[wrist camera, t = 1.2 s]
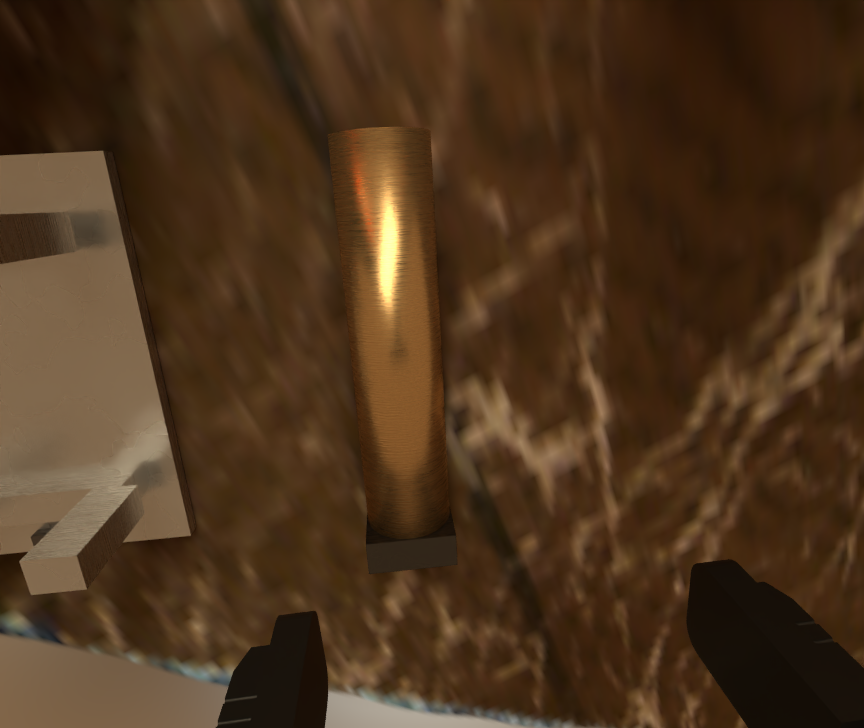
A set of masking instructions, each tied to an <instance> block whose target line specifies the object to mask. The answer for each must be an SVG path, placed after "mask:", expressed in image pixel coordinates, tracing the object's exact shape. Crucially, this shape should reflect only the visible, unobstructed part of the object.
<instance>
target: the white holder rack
mask: <svg viewBox="0 0 864 728" xmlns="http://www.w3.org/2000/svg"><path fill="white" fill-rule="evenodd" d="M195 528H196V523H195V518H194V514H193V509H192V505H191V500H190V496H189V491H188V487H187V482H186V478H185V473H184V469H183V464H182V460H181V455H180V451H179V446H178V442H177V437H176V433H175V428H174V424H173V419H172V415H171V411H170V406H169V402H168V397H167V393H166V388H165V384H164V379H163V375H162V370H161V366H160V361H159V357H158V352H157V348H156V343H155V339H154V334H153V330H152V325H151V321H150V316H149V312H148V307H147V303H146V298H145V294H144V289H143V285H142V280H141V276H140V271H139V267H138V262H137V258H136V253H135V249H134V244H133V240H132V235H131V231H130V227H129V222H128V218H127V213H126V209H125V204H124V200H123V195H122V191H121V186H120V182H119V177H118V173H117V168H116V164H115V159H114V155H113V152H107V151H87V152H66V153H45V154H24V155H3V156H0V554H10V553H20V552H28V553H27V554H26V555H25V556H24V557H23V558H22V559H21V560H20V561H19V562H20V565H21V568H22V571H23V574H24V576H25V579H26V582H27V585H28V588H29V591H30V593H31V595H36V594H46V593H55V592H65V591H74V590H84V589H88V587H89V586H90V585H91V583H92V582H93V581H94V579H95V578H96V577H97V575H98V574H99V573H100V571H101V570H102V569H103V568H104V566H105V565H106V564H107V562H108V561H109V560H110V558H111V557H112V556H113V554H114V553H115V552H116V550H117V549H118V548H119V547H120V545H121V544H122V543H123V542H132V541H142V540H152V539H162V538H172V537H182V536H191V535H192V533H193V531H194V529H195Z"/></svg>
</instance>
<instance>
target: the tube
mask: <svg viewBox="0 0 864 728" xmlns="http://www.w3.org/2000/svg"><path fill="white" fill-rule="evenodd" d="M328 143H329V152H330V162H331V171H332V181H333V190H334V199H335V209H336V218H337V228H338V237H339V247H340V256H341V266H342V275H343V285H344V294H345V304H346V313H347V323H348V332H349V341H350V351H351V360H352V370H353V379H354V389H355V398H356V408H357V417H358V427H359V436H360V446H361V455H362V465H363V474H364V484H365V493H366V502H367V532H366V550H367V560H368V569H369V574H375V573H384V572H393V571H403V570H412V569H422V568H431V567H440V566H450V565H457V547H456V533H455V529H454V524H453V520H452V515H451V511H450V506H449V491H448V471H447V451H446V431H445V411H444V391H443V372H442V352H441V332H440V312H439V292H438V272H437V252H436V232H435V212H434V192H433V172H432V153H431V133H430V130H428V129H424V128H414V127H377V128H363V129H353V130H346V131H340V132H335V133H332V134H329V135H328Z"/></svg>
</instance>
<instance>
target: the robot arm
mask: <svg viewBox="0 0 864 728" xmlns="http://www.w3.org/2000/svg"><path fill="white" fill-rule="evenodd" d="M687 630H688V634H689V637H690V640H691V643H692V645H693V647H694V649H695V651H696V652H697V654H698V656H699V657H700V658H701V660H702V661H703V663H704V664H705V666H706V667H707V669H708V670H709V671H710V673H711V674H712V676H713V677H714V679H715V680H716V682H717V683H718V685H719V686H720V687H721V689H722V690H723V692H724V693H725V695H726V696H727V698H728V699H729V700H730V702H731V703H732V705H733V706H734V708H735V709H736V711H737V712H738V714H739V715H740V716H741V718H742V719H743V721H744V722H745V724H746V725H747V727H748V728H864V668H863V667H862V666H861V665H860V664H859V663H858V662H857V661H856V660H855V659H854V658H852V657H851V656H850V655H849V654H848V653H847V652H846V651H845V650H844V649H843V648H842V647H841V646H840V645H839V644H838V643H837V642H836V643H834V641H833V640H832V637H831V636H830V635H829V634H828V633H827V632H826V631H825V630H824V629H823V628H822V627H821V626H820V625H819V624H815V622H814V619H813V618H812V617H811V616H810V615H809V614H808V613H806V612H805V611H804V610H803V609H802V608H801V607H800V606H799V605H798V604H797V603H796V602H795V601H794V600H793V599H792V598H790V597H789V596H787V595H785V594H784V593H782V592H780V591H779V590H777V589H775V588H774V587H772V586H771V585H769V584H767V583H766V582H759V583H757V582H756V581H755V580H754V579H753V578H752V577H751V576H750V575H749V574H748V573H747V572H746V571H745V570H744V569H743V568H742V567H741V566H740V565H739V564H738V563H737V562H735V561H733V560H730V559H728V560H720V561H712V562H704V563H697V564H695V565H693V567H692V570H691V578H690V588H689V598H688V609H687ZM327 701H328V674H327V665H326V660H325V654H324V649H323V643H322V637H321V632H320V626H319V621H318V616H317V613H316V611H309V612H302V613H294V614H286V615H279V616H278V617H277V620H276V623H275V627H274V631H273V635H272V639H271V643H270V645H266V646H258V647H251V649H250V650H249V651H248V653H247V654H246V655H245V657H244V658H243V659H242V661H241V662H240V663H239V665H238V666H237V667H236V669H235V670H234V671H233V675H232V678H231V681H230V684H229V687H228V690H227V694H226V697H225V704H223V706H222V709H221V712H220V716H219V719H218V726H217V727H216V728H325V720H326V711H327Z"/></svg>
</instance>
